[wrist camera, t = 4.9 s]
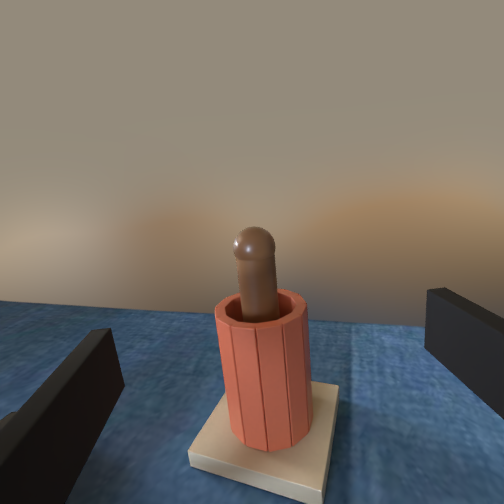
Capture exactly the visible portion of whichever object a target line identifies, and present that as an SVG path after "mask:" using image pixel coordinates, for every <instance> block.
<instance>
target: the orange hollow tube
mask: <svg viewBox="0 0 504 504" xmlns="http://www.w3.org/2000/svg"><path fill="white" fill-rule="evenodd" d="M277 290H278V303H279V315H280V319H278V320H274V321H268V322H262V323H246V322H243V315H242V307H241V298H240V293H237V294H234V295H232V296H229V297H227V298H225V299H224V300H223V301H222V302H220V303H219V304H218V305H217V306H216V307H215V319H216V326H217V333H218V340H219V347H220V354H221V361H222V368H223V375H224V382H225V389H226V396H227V403H228V410H229V418H230V425H231V430H232V432H233V433H234V434H235V435H236V437H237V438H238V439H239V440H240V441H241V442H242V443H243V444H244V445H246V446H248V447H251V448H255V449H259V450H262V451H266V452H267V451H268V449H269V452H272V451H277V450H281V449H286V448H291V445H292V446H294V445H296V444H297V443H298V442H299V441H300V440H301V439H302V438H304V437H305V436H306V435H307V434H308V432H309V431H310V427H311V423H312V419H313V403H312V385H311V366H310V348H309V330H308V312H307V303H306V302H305V301H304V299H303V298H302V297H301V296H300V295H299V294H297V293H294V292H291V291H288V290H285V289H284V290H283V289H277Z"/></svg>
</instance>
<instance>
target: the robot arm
mask: <svg viewBox="0 0 504 504" xmlns="http://www.w3.org/2000/svg"><path fill="white" fill-rule="evenodd" d="M424 348H425V349H426V350H427V351H428V352H430V353H431V354H432V355H433V356H434V357H435V358H436V359H437V360H438V361H439V362H441V363H442V364H443V365H444V366H445V367H446V368H447V369H448V370H449V371H451V372H452V373H453V374H454V375H455V376H456V377H457V378H458V379H459V380H461V381H462V382H463V383H464V384H465V385H466V386H467V387H468V388H469V389H470V390H472V391H473V392H474V393H475V394H476V395H477V396H478V397H479V398H480V399H482V400H483V401H484V402H485V403H486V404H487V405H488V406H489V407H490V408H492V409H493V410H494V411H495V412H496V413H497V414H498V415H499V416H500V417H501V418H503V419H504V319H503V318H501V317H499V316H498V315H496V314H494V313H492V312H490V311H488V310H486V309H484V308H482V307H481V306H479V305H477V304H475V303H473V302H471V301H469V300H467V299H466V298H464V297H462V296H460V295H458V294H456V293H454V292H452V291H451V290H449V289H447V288H438V289H429V290H427V303H426V325H425V345H424ZM124 387H125V384H124V380H123V376H122V372H121V368H120V364H119V360H118V356H117V352H116V347H115V343H114V339H113V335H112V331H111V328H105V329H97V330H91V331H90V332H89V334H88V335H87V336H86V337H85V338H84V339H83V340H82V341H81V342H80V343H79V345H78V346H77V347H76V348H75V349H74V350H73V351H72V352H71V353H70V354H69V355H68V357H67V358H66V359H65V360H64V361H63V362H62V363H61V364H60V365H59V366H58V368H57V369H56V370H55V371H54V372H53V373H52V374H51V375H50V376H49V377H48V379H47V380H46V381H45V382H44V383H43V384H42V385H41V386H40V387H39V388H38V390H37V391H36V392H35V393H34V394H33V395H32V396H31V397H30V398H29V399H28V400H27V402H26V403H25V404H24V405H23V406H22V407H21V408H20V409H19V410H18V411H17V412H11V413H10V414H8V415H7V416H6V417H4V418H3V419H2V420H0V504H65V502H66V500H67V498H68V496H69V494H70V492H71V490H72V488H73V486H74V484H75V482H76V480H77V478H78V476H79V475H80V473H81V471H82V469H83V467H84V465H85V463H86V461H87V459H88V457H89V455H90V453H91V451H92V449H93V447H94V445H95V443H96V441H97V439H98V437H99V435H100V434H101V432H102V430H103V428H104V426H105V424H106V422H107V420H108V418H109V416H110V414H111V412H112V410H113V408H114V406H115V404H116V402H117V400H118V398H119V396H120V395H121V393H122V391H123V389H124Z"/></svg>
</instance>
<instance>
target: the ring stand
mask: <svg viewBox="0 0 504 504" xmlns="http://www.w3.org/2000/svg"><path fill="white" fill-rule="evenodd" d="M233 249H234V254H235V257H236V264H237V272H238V281H239V289H240V298H241V307H242V315H243V322H246V323H262V322H268V321H274V320H278V319H280V315H279V303H278V290H277V278H276V266H275V255H274V253H275V242H274V239H273V237H272V236H271V234H270V233H269V232H268V231H266V230H265V229H263V228H260V227H248V228H246V229H244V230H242V231H241V232H240V233H239V234H238V235H237V237H236V238H235V241H234V246H233ZM311 385H312V403H313V419H312V423H311V427H310V431H309V432H308V434H307V435H306V436H305V437H304V438H302V439H301V440H300V441H299V442H298V443H297V444H296V445H294V446H292V445H291V448H286V449H281V450H277V451H272V452H269V449H268V451H267V452H266V451H262V450H259V449H255V448H251V447H248V446H246V445H244V444H243V443H242V442H241V441H240V440H239V439H238V438H237V437H236V435H235V434H234V433H233V432H232V430H231V425H230V418H229V410H228V403H227V396H226V392H225V394H224V395H223V397H222V398H221V400H220V402H219V403H218V405H217V406H216V408H215V409H214V411H213V412H212V414H211V415H210V417H209V419H208V420H207V422H206V423H205V425H204V426H203V428H202V429H201V431H200V433H199V434H198V436H197V437H196V439H195V440H194V442H193V443H192V445H191V447H190V448H189V450H188V455H189V461H190V466H192V467H195V468H198V469H201V470H204V471H207V472H210V473H213V474H216V475H220V476H223V477H226V478H229V479H232V480H235V481H238V482H241V483H244V484H247V485H251V486H254V487H257V488H260V489H263V490H266V491H269V492H272V493H275V494H278V495H282V496H285V497H288V498H291V499H294V500H297V501H300V502H303V503H306V504H324V497H325V490H326V484H327V477H328V471H329V464H330V457H331V451H332V444H333V438H334V431H335V424H336V418H337V411H338V405H339V386H338V385H332V384H326V383H320V382H314V381H311Z"/></svg>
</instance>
